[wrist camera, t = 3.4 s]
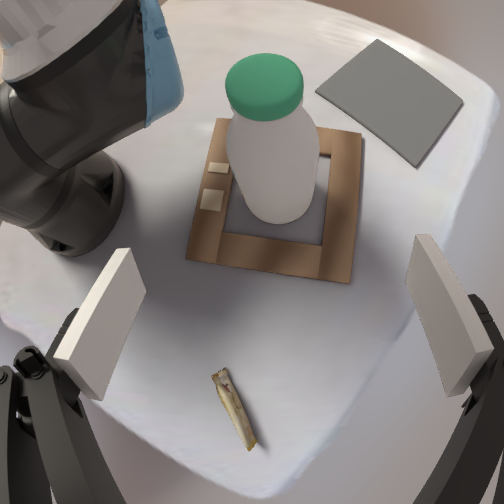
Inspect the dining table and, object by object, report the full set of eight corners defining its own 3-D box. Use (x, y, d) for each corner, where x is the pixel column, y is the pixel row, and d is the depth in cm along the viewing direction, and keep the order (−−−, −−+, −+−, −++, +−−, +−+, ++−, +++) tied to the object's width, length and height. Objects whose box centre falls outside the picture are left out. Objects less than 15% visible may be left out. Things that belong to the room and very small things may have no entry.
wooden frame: (187, 259, 36) (184, 258, 35) (217, 120, 38) (216, 117, 38) (348, 283, 33) (350, 283, 32) (360, 136, 36) (361, 132, 35)
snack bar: (259, 439, 32) (256, 450, 29) (247, 443, 32) (243, 454, 29) (226, 366, 33) (220, 371, 31) (214, 370, 34) (207, 376, 31)
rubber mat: (315, 92, 38) (315, 90, 37) (376, 40, 38) (377, 38, 38) (414, 167, 34) (415, 166, 34) (462, 101, 35) (463, 100, 35)
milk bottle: (326, 189, 35) (356, 72, 16) (282, 240, 35) (271, 157, 15) (274, 150, 37) (256, 21, 17) (230, 197, 36) (171, 90, 17)
